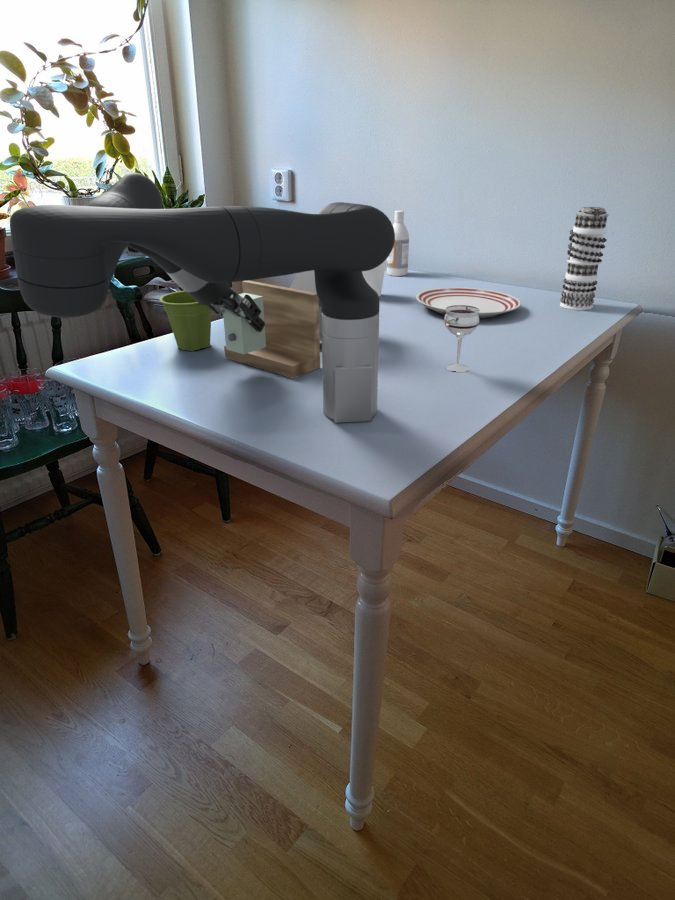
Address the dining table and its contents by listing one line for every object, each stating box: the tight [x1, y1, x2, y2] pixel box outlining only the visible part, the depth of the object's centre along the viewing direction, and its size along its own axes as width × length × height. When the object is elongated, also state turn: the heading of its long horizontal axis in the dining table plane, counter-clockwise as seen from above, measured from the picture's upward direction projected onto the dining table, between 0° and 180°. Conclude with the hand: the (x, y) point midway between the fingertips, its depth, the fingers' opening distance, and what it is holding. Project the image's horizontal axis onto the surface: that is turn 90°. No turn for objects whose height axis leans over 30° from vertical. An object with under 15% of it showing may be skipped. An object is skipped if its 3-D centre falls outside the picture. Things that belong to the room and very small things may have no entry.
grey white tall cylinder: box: [559, 206, 610, 311], centre depth 160 cm, size 9×9×25 cm
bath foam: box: [386, 210, 410, 277], centre depth 200 cm, size 7×7×20 cm
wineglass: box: [443, 305, 480, 373], centre depth 120 cm, size 7×7×12 cm
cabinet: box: [222, 292, 266, 354], centre depth 118 cm, size 7×5×10 cm
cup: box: [362, 259, 387, 298], centre depth 175 cm, size 9×9×12 cm
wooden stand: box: [223, 280, 321, 379], centre depth 124 cm, size 8×20×15 cm, turn 50°
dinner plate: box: [415, 286, 522, 319], centre depth 163 cm, size 27×27×3 cm
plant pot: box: [159, 290, 213, 352], centre depth 135 cm, size 12×12×11 cm
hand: (251, 325), depth 120 cm, fingers closed on cabinet, 5 cm apart
